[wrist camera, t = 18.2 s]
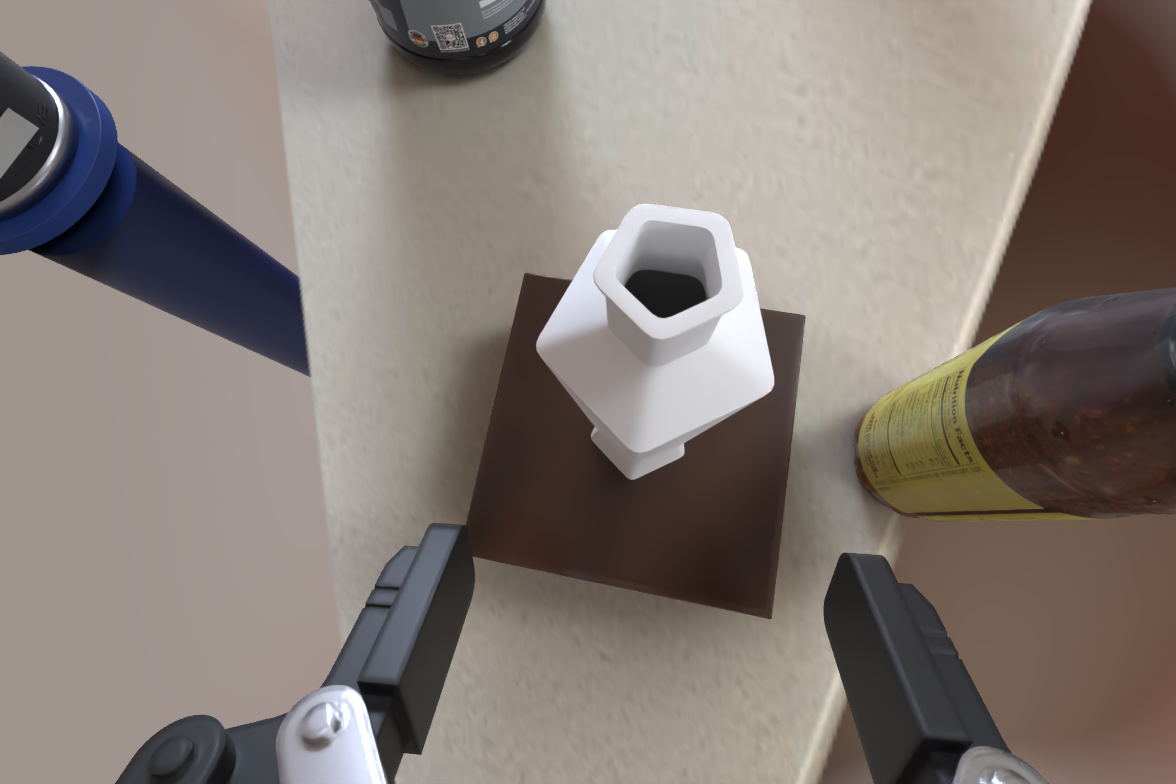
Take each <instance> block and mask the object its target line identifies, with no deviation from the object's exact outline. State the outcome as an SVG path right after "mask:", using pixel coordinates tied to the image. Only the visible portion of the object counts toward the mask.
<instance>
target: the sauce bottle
mask: <svg viewBox="0 0 1176 784" xmlns="http://www.w3.org/2000/svg"><path fill="white" fill-rule="evenodd" d="M853 455H854V462H855V466H856V470H857V475H858V477H859V479H860V481H861V483H862V484H863V485H864V486H865V487H866V488H867V489H868V490H869V492H870V493H871V494H872V495H873V496H874V497H876V498H877V499H879V500H880V501H881V502H882V503H883V504H885V505H886V506H888V507H890V508H891V509H893V510H894V511H896V512H898V513H899V514H901V515H904V516H908V517H913V518H922V519H926V520H932V521H1019V520H1020V521H1021V520H1087V519H1113V518H1121V517H1127V516H1130V515H1133V514H1135V515H1140V514H1158V515H1159V514H1176V287H1174V288H1167V289H1157V290H1148V291H1139V292H1130V293H1122V294H1114V295H1113V294H1112V295H1104V296H1095V297H1087V298H1082V299H1076V300H1071V301H1067V302H1064V303H1061V304H1058V305H1055V306H1052V307H1049V308H1047V309H1045V310H1043V311H1040V312H1038V313H1036V314H1034V315H1032V316H1031V317H1029V318H1027V319H1025V320H1023V321H1021V322H1019V323H1018V324H1016V325H1014V326H1012V327H1010V328H1008V329H1006V330H1004V331H1003V332H1000V333H999V334H997V335H996V336H994V337H992V338H990V339H988V340H986V341H984V342H983V343H981V344H979V345H977V346H975V347H974V348H972V349H970V350H968V351H966V352H964V353H962V354H961V355H959V356H957V357H955V358H953V359H951V360H949V361H947V362H945V363H943V364H942V365H940V366H938V367H936V368H934V369H932V370H930V371H928V372H927V373H925V374H923V375H921V376H919V377H917V378H916V379H914V380H912V381H910V382H908V383H906V384H904V385H902V386H901V387H899V388H897V389H895V390H893V391H891V392H890V393H888V394H886V395H885V396H883V397H882V398H880V399H879V400H878V401H877V402H876V403H875V404H874V405H873V406H872V408H871V409H870V410H869V412H867V413H866V414H865V416H864V417H863V418H862V420H861V421H860V422H859V424H858V425H857V427H856V429H855V433H854V444H853Z"/></svg>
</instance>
